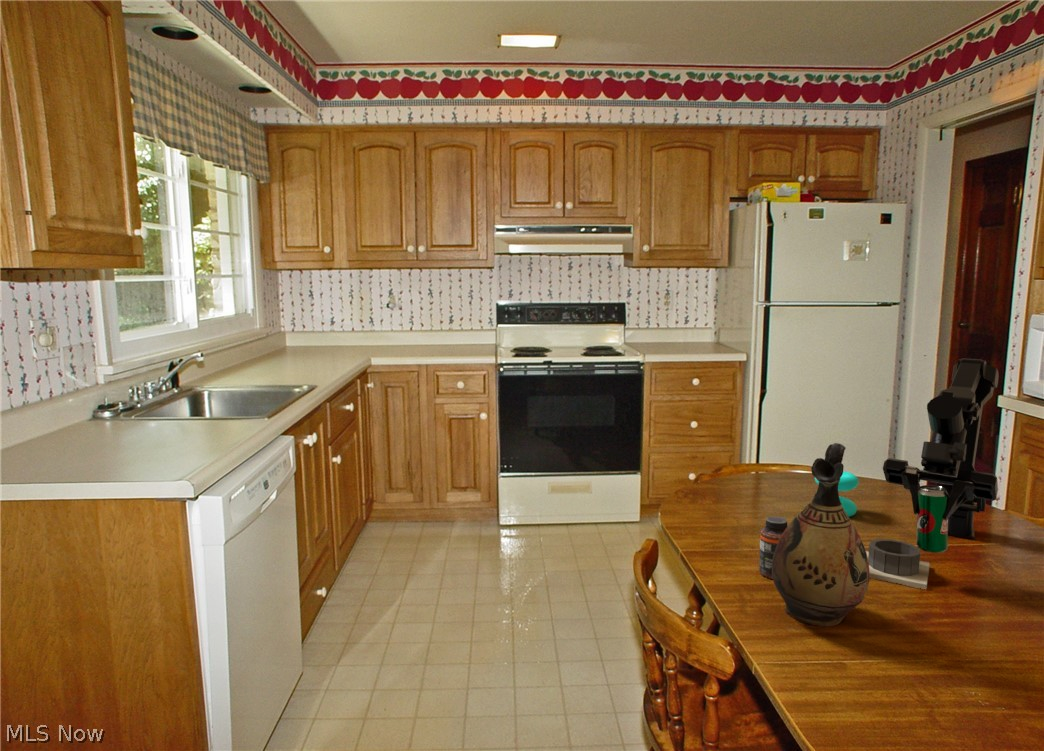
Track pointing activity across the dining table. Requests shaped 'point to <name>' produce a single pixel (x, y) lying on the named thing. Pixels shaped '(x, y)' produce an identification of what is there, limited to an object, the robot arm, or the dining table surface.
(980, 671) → the dining table surface
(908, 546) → the collar socket
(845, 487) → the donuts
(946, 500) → the soda can
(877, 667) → the dining table surface
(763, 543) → the supplement bottle
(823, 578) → the ceramic jug
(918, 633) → the dining table surface
